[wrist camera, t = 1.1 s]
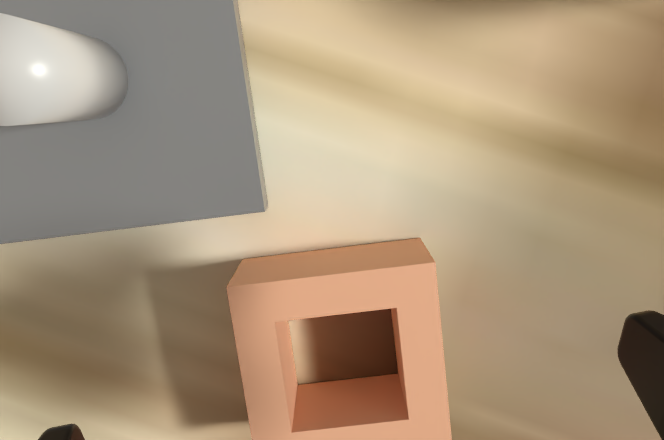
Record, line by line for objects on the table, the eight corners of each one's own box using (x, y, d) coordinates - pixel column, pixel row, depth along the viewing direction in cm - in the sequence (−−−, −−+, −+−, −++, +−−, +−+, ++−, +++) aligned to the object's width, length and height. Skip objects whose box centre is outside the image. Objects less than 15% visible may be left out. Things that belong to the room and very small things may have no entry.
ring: (435, 401, 22) (452, 451, 19) (268, 420, 22) (257, 472, 19) (419, 237, 21) (435, 262, 18) (242, 259, 21) (226, 287, 18)
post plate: (268, 206, 20) (241, 248, 15) (-9, 240, 21) (-145, 295, 15) (222, -101, 18) (169, -196, 13) (-84, -59, 19) (-275, -132, 13)
